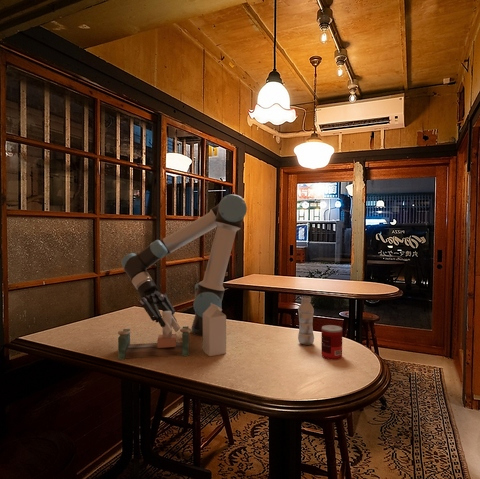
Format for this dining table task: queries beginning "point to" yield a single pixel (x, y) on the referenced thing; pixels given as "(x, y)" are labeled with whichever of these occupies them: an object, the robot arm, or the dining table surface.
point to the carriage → (166, 339)
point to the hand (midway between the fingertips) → (174, 331)
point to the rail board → (151, 346)
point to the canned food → (331, 342)
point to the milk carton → (214, 331)
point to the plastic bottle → (306, 321)
